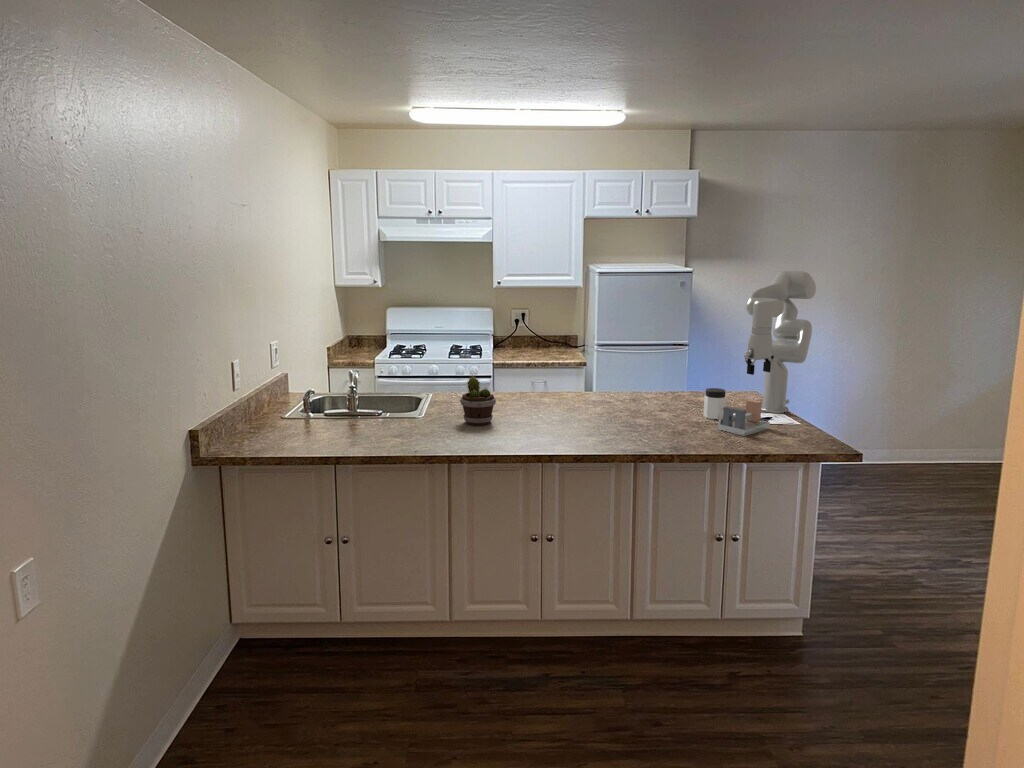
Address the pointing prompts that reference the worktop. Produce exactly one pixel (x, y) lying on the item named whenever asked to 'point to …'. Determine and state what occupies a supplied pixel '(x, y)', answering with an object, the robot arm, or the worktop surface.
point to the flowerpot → (477, 404)
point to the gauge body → (740, 422)
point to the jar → (714, 403)
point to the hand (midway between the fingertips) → (758, 372)
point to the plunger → (753, 411)
